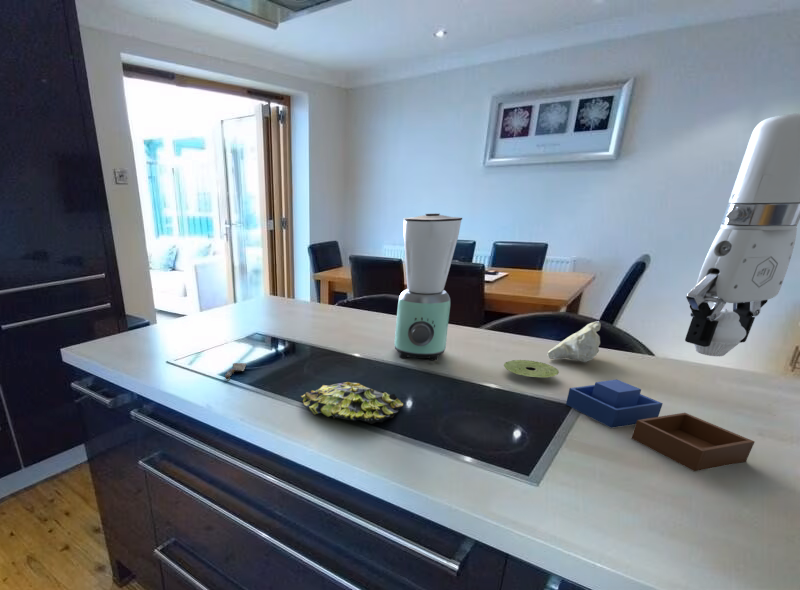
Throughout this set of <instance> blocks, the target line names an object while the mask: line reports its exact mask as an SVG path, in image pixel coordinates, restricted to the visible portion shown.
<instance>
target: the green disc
mask: <svg viewBox="0 0 800 590" xmlns="http://www.w3.org/2000/svg"><path fill="white" fill-rule="evenodd" d="M503 367H504V368H505V370H507V371H509V372H511V373H513V374H516V375H519V376H524V377H528V378H530V377H531V378H551V377H552V378H553V377H556V376H557V375H559V373H560V371H559V369H558V368H556V367H555V366H552V365H550V364H548V363H546V362H541V361H535V360H528V359H527V360H526V359H514V360H508V361H505V362H504V364H503Z"/></svg>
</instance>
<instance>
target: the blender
mask: <svg viewBox="0 0 800 590" xmlns="http://www.w3.org/2000/svg"><path fill="white" fill-rule="evenodd" d="M402 219H403V246H404V263H405V264H404V265H405V277H406V289H404V290H403V291H402V292H401V293H400V295H399V297H398V302H397V309H396V321H395V333H394V343H393V345H394V349H395V350H396V352H398V354H399V358H401V359H407V358H408V357H411V358H419V359H428V358H429V360H430V361H433V362H434V361H438V359H439V357H440V356H441V355H442V354H444V353H445V350H446V346H447V340H448V339H447V338H448V329H449V322H450V314H451V313H450V312H451V297H450V295H449V293H448V292H447V291H446V290H445V286H446V283H447V279H448V275H449V272H450V268H451V264H452V261H453V257H454V254H455V250H456V246H457V243H458V240H459V235H460V230H461V223H462V220H463V217H460V216H449V215H443V214H440V213H437V212H435V213H425V214H424V215H423V214H422V215H418V216H412V217H403V218H402Z"/></svg>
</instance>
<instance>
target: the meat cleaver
mask: <svg viewBox="0 0 800 590" xmlns="http://www.w3.org/2000/svg"><path fill="white" fill-rule="evenodd" d="M246 366H247V363H246V362H236V363H235V362H233V363H232V367H233V368H231V369H229V370H228V371H226V373H225V375H224V378H226V379H229V380H231V377H232V376H233V375H234V374H235V373H236V372H244V371H245V369H246ZM234 372H235V373H234ZM232 374H233V375H232ZM230 376H231V377H230ZM226 379H225V380H226Z"/></svg>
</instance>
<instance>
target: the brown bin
mask: <svg viewBox="0 0 800 590" xmlns="http://www.w3.org/2000/svg"><path fill="white" fill-rule="evenodd" d="M634 425H635V426H634V429H633V432H632V435H631V438H630V439H631V440H633V441H635V442H637V443H639V444H640V445H642V446H644V447H647V448H649V449H651V450H653V451H654V452H656V453H658V454H660V455H662V456H664V457H666V458H667V459H669V460H672V461H673V462H675V463H677V464H678V465H679V464H680V465H681V466H683V467H685V468H687V469H689V470H691V471H693V472H698V471H704V470H709V469H715V468H720V467H725V466H730V465H735V464H740V463H745V462H747V460H748V458H749V456H750V453H751V451H752V449H753V448H754V445H755V443H756V441H754V440H752V439H749V438H747V437H744V436H742V435H740V434H737V433H736V432H733V431H730V430H728V429H726V428H724V427H721V426H719V425H716V424H713V423H712V422H709V421H706V420H704V419H702V418H699V417H697V416H694V415H692V414H690V413H687V412H680V413H675V414H673V413H672V414H667V415H660V416H658V417H654V418H647V419H641V420H637V422H636V424H634Z"/></svg>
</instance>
